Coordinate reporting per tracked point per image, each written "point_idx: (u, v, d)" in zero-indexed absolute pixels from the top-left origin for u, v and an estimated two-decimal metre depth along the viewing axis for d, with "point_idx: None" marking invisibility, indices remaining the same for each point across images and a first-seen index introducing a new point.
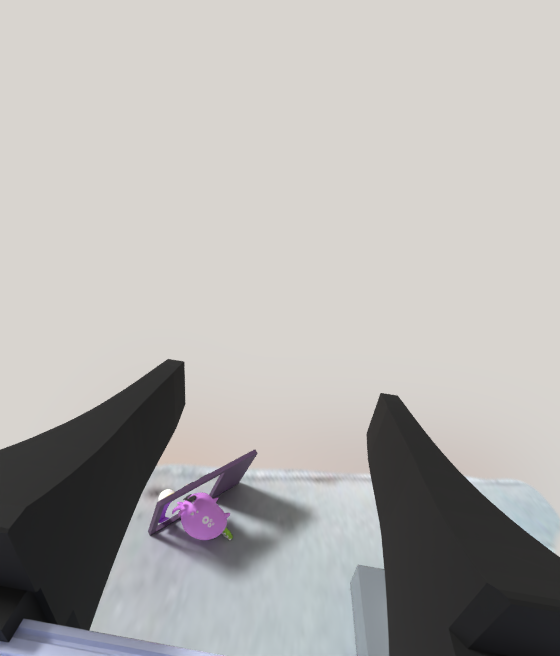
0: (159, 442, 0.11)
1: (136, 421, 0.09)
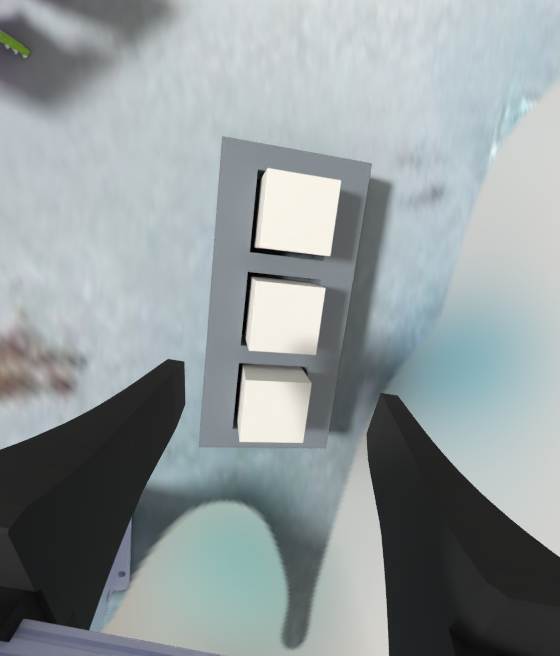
0: (158, 441, 0.11)
1: (136, 421, 0.09)
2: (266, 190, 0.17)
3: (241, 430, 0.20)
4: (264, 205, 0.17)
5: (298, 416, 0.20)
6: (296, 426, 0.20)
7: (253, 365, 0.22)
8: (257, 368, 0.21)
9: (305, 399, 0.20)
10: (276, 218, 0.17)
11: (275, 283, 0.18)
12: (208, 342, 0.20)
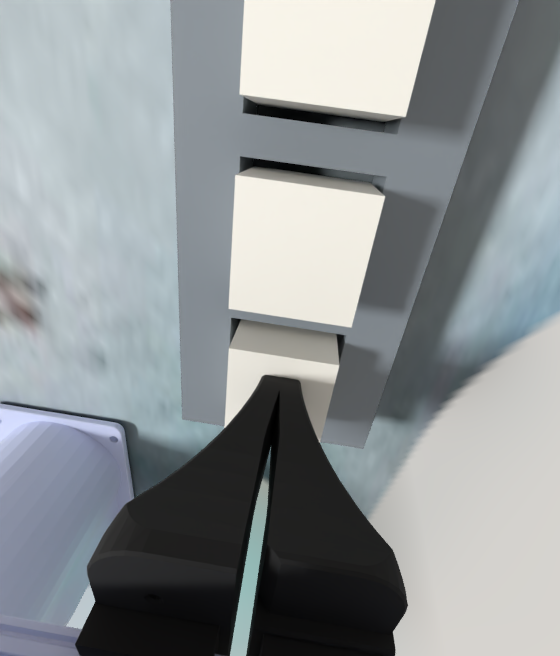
0: (265, 459, 0.11)
1: (264, 442, 0.09)
2: None
3: (226, 414, 0.13)
4: None
5: (314, 409, 0.13)
6: None
7: None
8: (262, 324, 0.13)
9: (326, 387, 0.12)
10: (278, 9, 0.07)
11: (276, 182, 0.09)
12: (181, 281, 0.12)
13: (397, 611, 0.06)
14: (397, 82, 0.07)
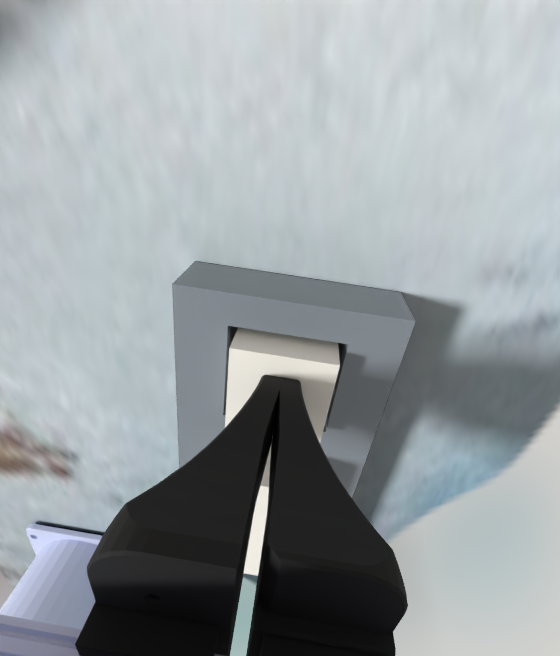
0: (265, 459, 0.11)
1: (264, 441, 0.09)
2: (229, 371, 0.12)
3: None
4: (228, 387, 0.13)
5: None
6: None
7: None
8: None
9: None
10: (245, 401, 0.13)
11: None
12: None
13: (397, 611, 0.06)
14: None
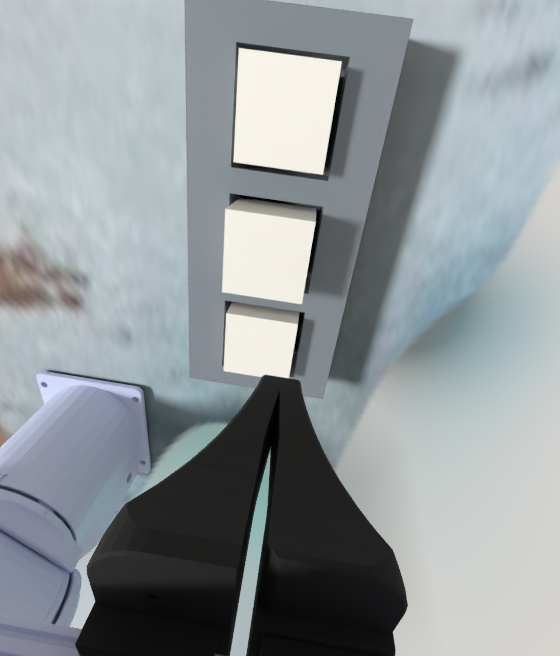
0: (265, 459, 0.11)
1: (264, 442, 0.09)
2: (238, 82, 0.13)
3: (225, 360, 0.20)
4: (237, 104, 0.13)
5: (283, 355, 0.19)
6: (281, 364, 0.19)
7: None
8: None
9: (290, 339, 0.18)
10: (253, 122, 0.14)
11: (250, 213, 0.14)
12: (190, 275, 0.18)
13: (396, 611, 0.06)
14: (316, 157, 0.14)
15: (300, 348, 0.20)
